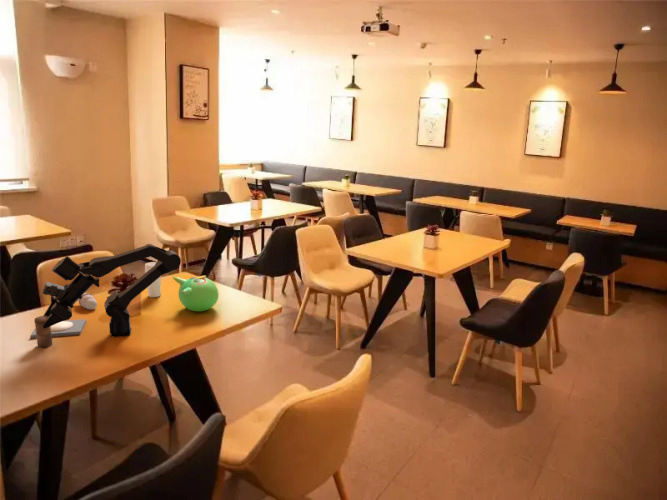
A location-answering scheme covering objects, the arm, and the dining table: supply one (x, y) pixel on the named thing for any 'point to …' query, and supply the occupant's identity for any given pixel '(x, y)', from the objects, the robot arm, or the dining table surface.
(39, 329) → the pepper mill
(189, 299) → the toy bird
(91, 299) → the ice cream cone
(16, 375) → the dining table surface
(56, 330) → the serving board
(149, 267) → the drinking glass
